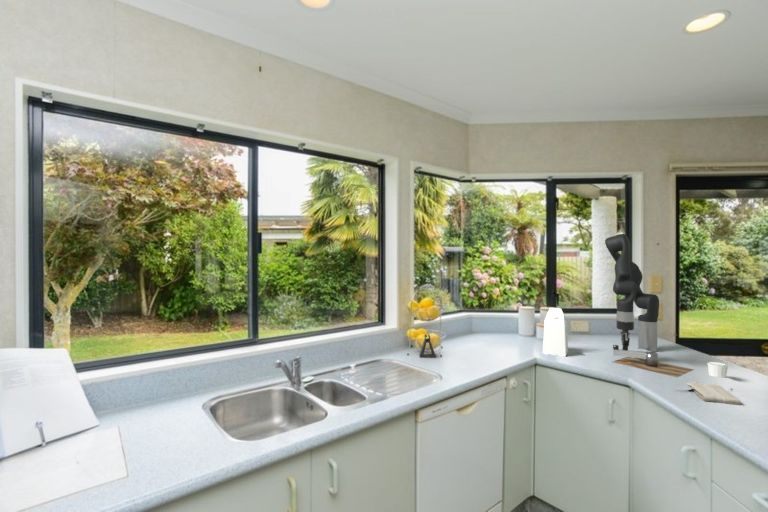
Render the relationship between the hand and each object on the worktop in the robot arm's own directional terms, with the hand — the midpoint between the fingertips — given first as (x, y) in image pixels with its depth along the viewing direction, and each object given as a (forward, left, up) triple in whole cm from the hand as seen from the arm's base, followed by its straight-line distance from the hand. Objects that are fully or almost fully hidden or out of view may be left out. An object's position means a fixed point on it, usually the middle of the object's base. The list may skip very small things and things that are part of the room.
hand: (625, 353), depth 191 cm
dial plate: (-3, +11, -6) cm, 12 cm away
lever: (+1, +5, -4) cm, 6 cm away
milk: (+10, -32, -6) cm, 34 cm away
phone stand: (+76, -67, -6) cm, 102 cm away
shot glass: (-11, +34, -6) cm, 36 cm away
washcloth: (+16, +39, -6) cm, 43 cm away
